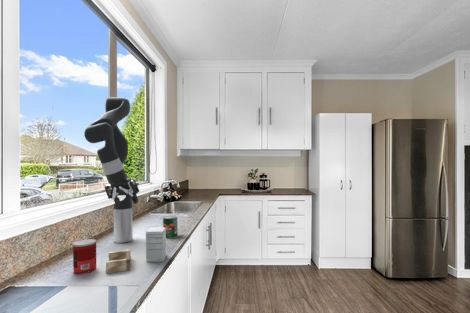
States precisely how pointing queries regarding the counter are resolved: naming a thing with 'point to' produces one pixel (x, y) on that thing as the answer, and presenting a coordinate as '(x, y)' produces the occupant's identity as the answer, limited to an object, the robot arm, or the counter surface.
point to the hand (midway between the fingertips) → (127, 204)
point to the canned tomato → (170, 226)
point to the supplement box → (155, 244)
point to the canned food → (84, 256)
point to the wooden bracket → (118, 261)
